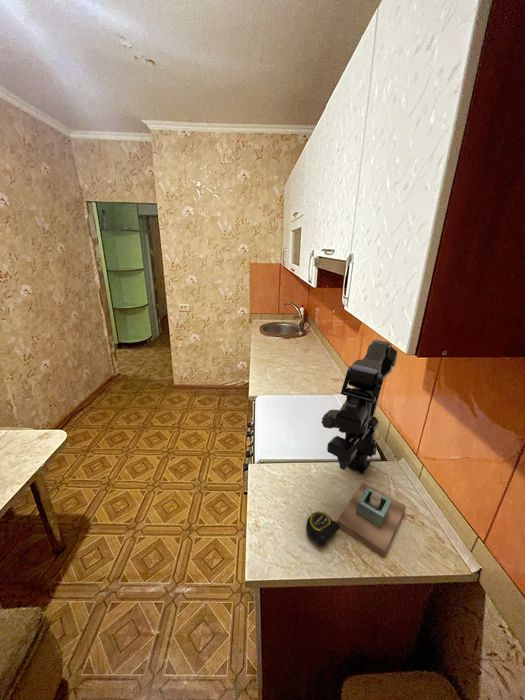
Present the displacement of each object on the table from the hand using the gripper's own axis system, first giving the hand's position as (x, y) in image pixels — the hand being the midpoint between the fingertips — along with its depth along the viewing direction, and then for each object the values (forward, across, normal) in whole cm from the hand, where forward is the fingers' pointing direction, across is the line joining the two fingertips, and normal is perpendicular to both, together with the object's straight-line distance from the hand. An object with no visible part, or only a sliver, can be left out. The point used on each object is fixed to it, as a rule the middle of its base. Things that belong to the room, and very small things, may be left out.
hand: (350, 459), depth 80 cm
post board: (+12, +3, +9) cm, 15 cm away
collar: (+10, +3, +9) cm, 14 cm away
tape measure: (+12, +15, +1) cm, 20 cm away
